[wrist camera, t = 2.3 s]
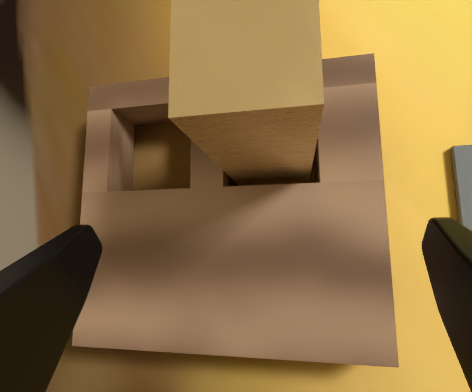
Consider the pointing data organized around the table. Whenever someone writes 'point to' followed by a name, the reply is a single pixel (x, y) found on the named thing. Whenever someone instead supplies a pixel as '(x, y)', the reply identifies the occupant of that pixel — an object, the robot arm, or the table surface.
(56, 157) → the table surface
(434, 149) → the table surface
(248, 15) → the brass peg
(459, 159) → the slate mat
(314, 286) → the two-hole peg block
